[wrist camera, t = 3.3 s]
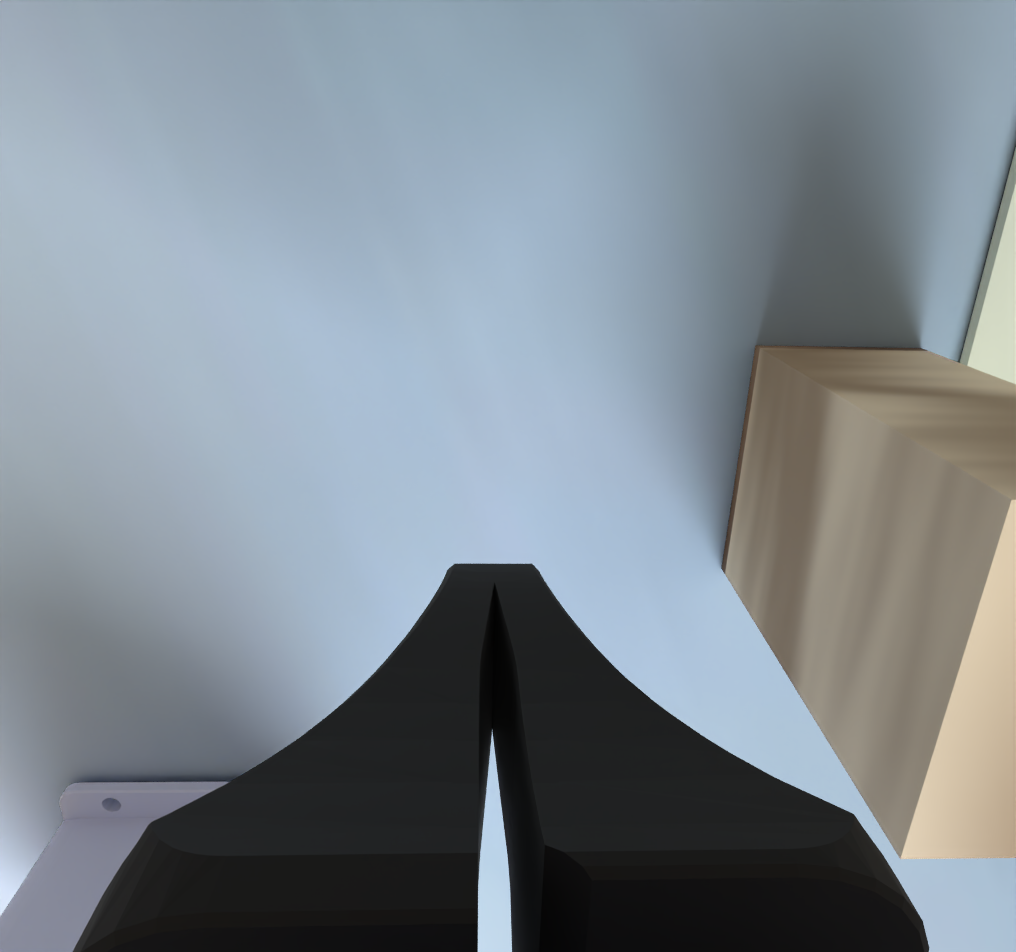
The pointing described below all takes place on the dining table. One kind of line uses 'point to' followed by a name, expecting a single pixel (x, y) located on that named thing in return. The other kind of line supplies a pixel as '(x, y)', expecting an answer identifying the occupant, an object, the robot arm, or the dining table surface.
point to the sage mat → (997, 298)
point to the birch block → (890, 577)
